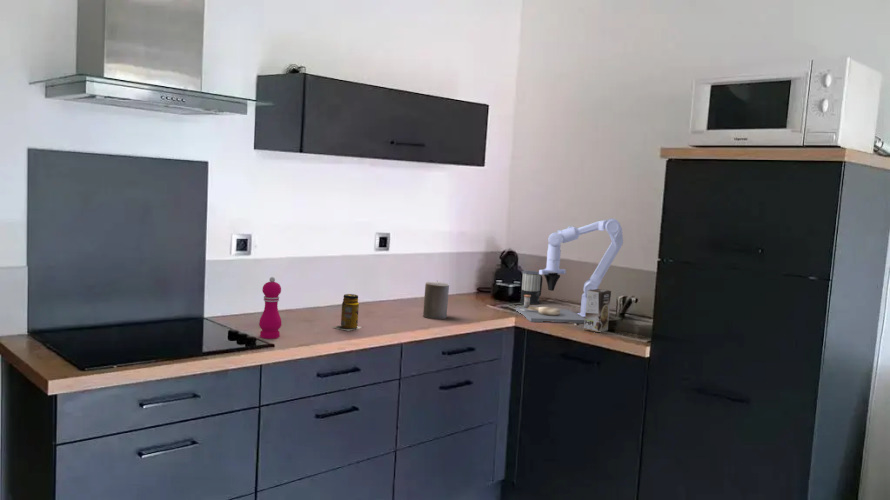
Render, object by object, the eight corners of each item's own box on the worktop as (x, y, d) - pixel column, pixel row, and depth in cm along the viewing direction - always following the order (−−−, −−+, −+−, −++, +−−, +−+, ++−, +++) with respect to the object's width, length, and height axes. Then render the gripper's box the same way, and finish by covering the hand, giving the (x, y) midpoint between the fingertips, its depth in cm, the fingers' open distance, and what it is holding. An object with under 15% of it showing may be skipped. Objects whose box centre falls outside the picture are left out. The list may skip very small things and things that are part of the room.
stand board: (567, 312, 324) (568, 308, 324) (586, 323, 300) (587, 319, 300) (515, 310, 320) (516, 307, 320) (530, 321, 296) (531, 317, 296)
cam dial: (561, 313, 311) (563, 297, 311) (556, 316, 303) (558, 300, 302) (525, 308, 317) (527, 293, 317) (520, 311, 309) (521, 296, 308)
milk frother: (537, 305, 338) (540, 274, 337) (504, 301, 343) (506, 270, 341) (542, 301, 352) (544, 270, 350) (510, 297, 356) (512, 267, 355)
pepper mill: (254, 337, 238) (256, 277, 236) (267, 333, 245) (269, 274, 243) (272, 340, 236) (275, 279, 234) (285, 336, 243) (287, 277, 241)
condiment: (362, 327, 264) (364, 295, 263) (348, 331, 257) (350, 297, 256) (346, 324, 268) (347, 292, 267) (332, 328, 260) (333, 295, 259)
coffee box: (598, 333, 282) (601, 292, 280) (583, 330, 286) (586, 290, 284) (608, 330, 289) (611, 290, 288) (593, 327, 293) (596, 288, 291)
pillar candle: (423, 318, 289) (426, 281, 287) (422, 313, 298) (425, 277, 297) (447, 320, 289) (450, 283, 288) (446, 315, 299) (448, 279, 298)
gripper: (558, 258, 327) (556, 288, 328) (535, 258, 318) (532, 289, 319) (570, 260, 321) (567, 290, 322) (546, 260, 312) (544, 292, 314)
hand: (551, 290), depth 320 cm, fingers closed
